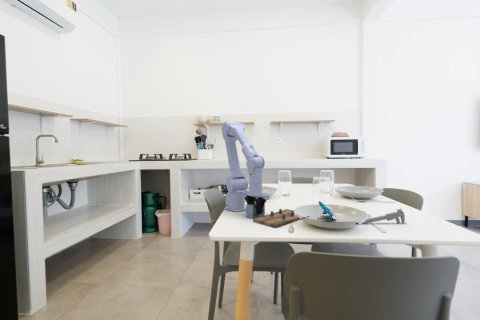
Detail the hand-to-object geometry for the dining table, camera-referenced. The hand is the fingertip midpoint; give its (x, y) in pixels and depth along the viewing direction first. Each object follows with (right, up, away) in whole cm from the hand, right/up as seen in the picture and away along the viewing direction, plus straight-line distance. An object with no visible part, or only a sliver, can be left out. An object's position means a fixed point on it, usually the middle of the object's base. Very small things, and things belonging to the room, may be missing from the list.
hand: (255, 213), depth 118 cm
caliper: (+49, -2, -12) cm, 51 cm away
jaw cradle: (+11, -2, -4) cm, 12 cm away
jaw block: (0, -1, 0) cm, 1 cm away
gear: (+31, -2, -4) cm, 31 cm away
